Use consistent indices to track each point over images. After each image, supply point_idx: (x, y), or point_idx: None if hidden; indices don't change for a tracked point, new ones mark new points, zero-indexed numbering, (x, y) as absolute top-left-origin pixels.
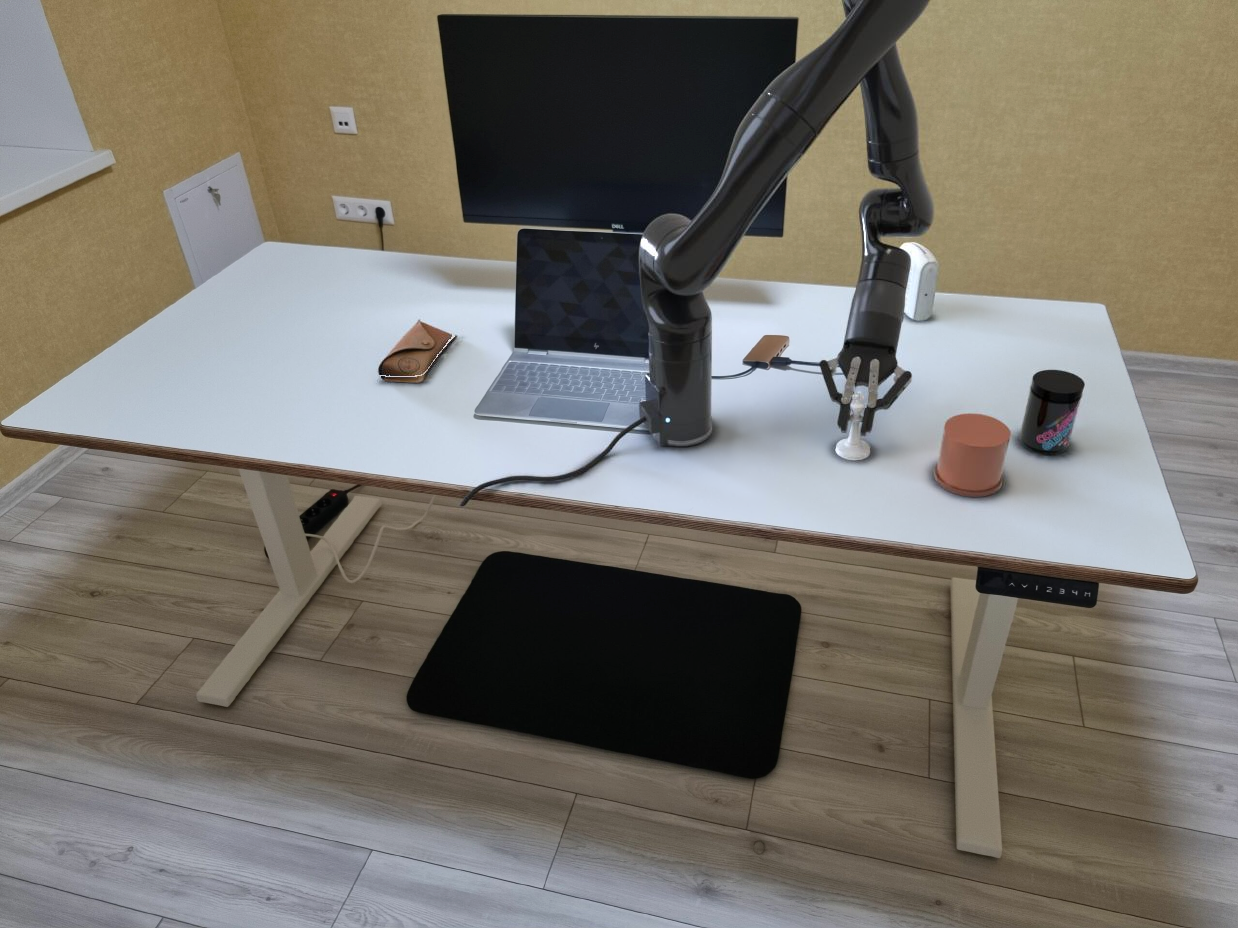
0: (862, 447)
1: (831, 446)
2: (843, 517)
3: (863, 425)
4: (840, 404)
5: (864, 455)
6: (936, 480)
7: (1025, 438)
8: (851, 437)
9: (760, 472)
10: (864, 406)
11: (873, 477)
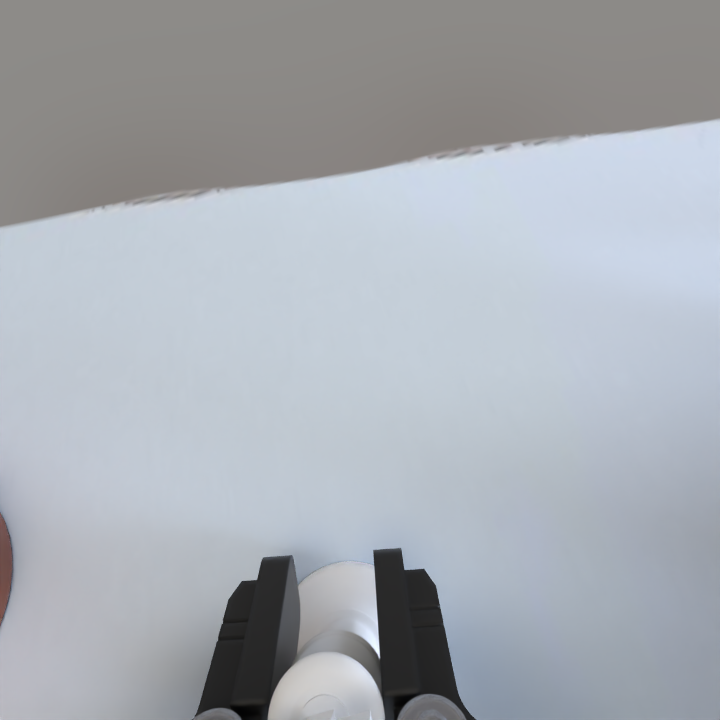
0: (303, 637)
1: None
2: (298, 241)
3: (273, 583)
4: (463, 710)
5: None
6: (4, 529)
7: None
8: (355, 633)
9: (624, 360)
10: (269, 707)
11: (239, 473)
